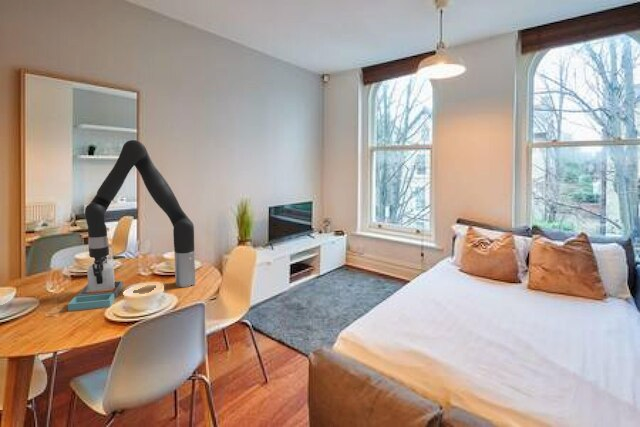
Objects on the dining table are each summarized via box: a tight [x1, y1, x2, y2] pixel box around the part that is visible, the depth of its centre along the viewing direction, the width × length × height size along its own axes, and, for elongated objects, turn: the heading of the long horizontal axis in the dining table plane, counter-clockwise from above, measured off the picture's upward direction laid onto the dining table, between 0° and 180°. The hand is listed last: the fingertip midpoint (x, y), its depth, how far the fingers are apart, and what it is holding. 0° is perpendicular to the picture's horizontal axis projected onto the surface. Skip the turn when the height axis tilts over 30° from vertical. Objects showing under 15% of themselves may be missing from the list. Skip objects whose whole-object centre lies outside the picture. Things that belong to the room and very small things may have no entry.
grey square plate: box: [76, 280, 124, 298], centre depth 152 cm, size 15×15×2 cm
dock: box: [67, 293, 116, 312], centre depth 139 cm, size 15×8×3 cm, turn 110°
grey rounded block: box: [86, 262, 116, 293], centre depth 151 cm, size 10×4×12 cm, turn 123°
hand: (101, 281), depth 152 cm, fingers closed on grey rounded block, 5 cm apart
